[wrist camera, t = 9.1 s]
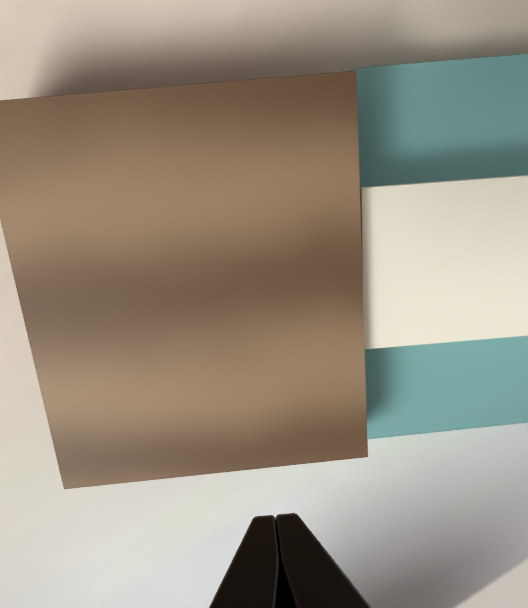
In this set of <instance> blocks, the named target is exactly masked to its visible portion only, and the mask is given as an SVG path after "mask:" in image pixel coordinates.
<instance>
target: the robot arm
mask: <svg viewBox="0 0 528 608" xmlns="http://www.w3.org/2000/svg"><path fill="white" fill-rule="evenodd" d="M209 608H371V606H370V605H369V604H368V603H367V601H366V600H365V599H364V598H363V596H362V595H361V594H360V593H359V591H358V590H357V589H356V588H355V586H354V585H353V584H352V582H351V581H350V580H349V579H348V577H347V576H346V575H345V574H344V572H343V571H342V570H341V569H340V567H339V566H338V565H337V564H336V562H335V561H334V560H333V559H332V557H331V556H330V555H329V554H328V552H327V551H326V550H325V549H324V547H323V546H322V545H321V543H320V542H319V541H318V540H317V538H316V537H315V536H314V535H313V533H312V532H311V531H310V530H309V528H308V527H307V526H306V525H305V523H304V522H303V521H302V520H301V518H300V517H299V516H298V515H297V514H295V513H290V514H279V515H277V516H276V521H275V517H274V516H273V515H268V516H257V517H254V518H253V520H252V521H251V523H250V525H249V527H248V529H247V532H246V534H245V536H244V538H243V540H242V542H241V544H240V546H239V548H238V550H237V552H236V554H235V556H234V558H233V560H232V562H231V564H230V566H229V568H228V570H227V572H226V574H225V576H224V578H223V580H222V582H221V584H220V586H219V588H218V590H217V592H216V594H215V596H214V599H213V601H212V603H211V605H210V607H209Z"/></svg>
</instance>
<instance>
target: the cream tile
mask: <svg viewBox="0 0 528 608" xmlns="http://www.w3.org/2000/svg"><path fill="white" fill-rule="evenodd" d="M360 211H361V244H362V278H363V311H364V345H365V349H374V348H386V347H398V346H410V345H422V344H434V343H446V342H457V341H469V340H481V339H493V338H505V337H517V336H528V175H520V176H506V177H492V178H479V179H465V180H451V181H437V182H424V183H410V184H396V185H383V186H369V187H360Z"/></svg>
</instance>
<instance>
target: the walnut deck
mask: <svg viewBox="0 0 528 608" xmlns="http://www.w3.org/2000/svg"><path fill="white" fill-rule="evenodd" d="M0 220H1V224H2V228H3V233H4V237H5V241H6V245H7V250H8V254H9V258H10V262H11V267H12V271H13V275H14V279H15V283H16V288H17V292H18V296H19V300H20V305H21V309H22V313H23V317H24V322H25V326H26V330H27V334H28V338H29V343H30V347H31V351H32V355H33V360H34V364H35V368H36V372H37V377H38V381H39V385H40V389H41V394H42V398H43V402H44V406H45V410H46V415H47V419H48V423H49V427H50V432H51V436H52V440H53V444H54V449H55V453H56V457H57V461H58V465H59V470H60V474H61V478H62V482H63V487H64V489H71V488H80V487H89V486H99V485H108V484H118V483H127V482H137V481H146V480H155V479H165V478H174V477H184V476H193V475H203V474H212V473H221V472H231V471H240V470H250V469H259V468H269V467H278V466H287V465H297V464H306V463H316V462H325V461H335V460H344V459H353V458H363V457H368V445H367V412H366V378H365V345H364V311H363V278H362V244H361V211H360V177H359V143H358V110H357V76H356V71H347V72H335V73H323V74H311V75H299V76H287V77H275V78H263V79H251V80H239V81H228V82H216V83H204V84H192V85H180V86H168V87H156V88H144V89H132V90H120V91H108V92H96V93H84V94H72V95H60V96H48V97H36V98H24V99H12V100H0Z"/></svg>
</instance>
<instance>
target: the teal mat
mask: <svg viewBox="0 0 528 608" xmlns="http://www.w3.org/2000/svg"><path fill="white" fill-rule="evenodd" d="M353 71H356V76H357V110H358V143H359V177H360V187H369V186H383V185H396V184H410V183H424V182H437V181H451V180H465V179H479V178H492V177H506V176H520V175H528V54H518V55H506V56H494V57H482V58H471V59H459V60H447V61H435V62H423V63H411V64H399V65H387V66H375V67H363V68H355V69H354V70H353ZM365 378H366V412H367V439H374V438H384V437H393V436H403V435H412V434H422V433H431V432H441V431H450V430H460V429H469V428H479V427H488V426H498V425H507V424H517V423H526V422H528V336H517V337H505V338H493V339H481V340H469V341H457V342H446V343H434V344H422V345H410V346H398V347H386V348H374V349H365Z"/></svg>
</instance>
